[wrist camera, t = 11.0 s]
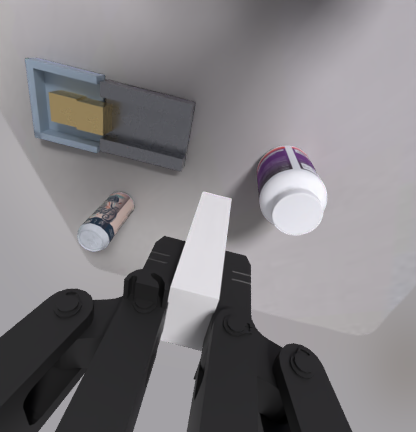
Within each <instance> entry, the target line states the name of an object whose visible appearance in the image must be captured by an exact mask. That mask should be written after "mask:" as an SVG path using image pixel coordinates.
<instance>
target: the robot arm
mask: <svg viewBox="0 0 416 432" xmlns="http://www.w3.org/2000/svg"><path fill="white" fill-rule="evenodd" d="M231 200H232V199H231V198H227V197H223V196H219V195H216V194H212V193H208V192H204V191H203V192H202V195H201V198H200V201H199V204H198V207H197V210H196V213H195V216H194V219H193V222H192V225H191V228H190V231H189V234H188V237H187V240H186V241H182V240H178V239H174V238H170V237H166V236H164V237H162V238H161V239H160V240H158V241H157V242H156V243H155V245H154V247H153V249H152V252H151V253H150V255H149V257H148V259H147V261H146V263H145V265H144V267H143V269H140V270H136V271H134V272H132V273H130V274H129V275H128V276H127V277H126V278H125V279H124V294H123V296H122V297H119V298H116V299H109V300H92V297H91V295H89V294H88V293H87V292H86V291H83V290H80V289H66V290H63V291H59V292H57V293H55V294H54V295H52V296H51V297H49V298H48V299H47V300H45V301H44V302H43V303H42V304H40V305H39V306H38V307H37V308H36V309H34V310H33V311H32V312H31V313H30V314H28V315H27V316H26V317H25V318H23V319H22V320H21V321H20V322H18V323H17V324H16V325H15V326H14V327H13V328H11V329H10V330H9V331H7V332H6V333H5V334H4V335H3V336H1V337H0V432H38V431H39V430H40V429H41V427H42V426H43V425H44V424H45V422H46V421H47V420H48V419H49V417H50V416H51V415H52V414H53V412H54V411H55V410H56V409H57V407H58V406H59V405H60V404H61V402H62V401H63V400H64V398H65V397H66V396H67V395H68V394H69V392H70V391H71V390H72V388H73V387H74V386H75V385H76V383H77V382H78V381H79V380H80V378H81V377H82V376H83V375H84V376H83V378H82V380H81V382H80V384H79V386H78V388H77V390H76V392H75V394H74V396H73V397H72V400H71V402H70V404H69V405H68V407H67V409H66V411H65V413H64V415H63V417H62V419H61V421H60V423H59V425H58V427H57V429H56V431H55V432H133V429H134V426H135V423H136V420H137V417H138V413H139V410H140V407H141V403H142V400H143V397H144V394H145V390H146V387H147V384H148V381H149V377H150V374H151V371H152V368H153V364H154V361H155V358H156V353H157V348H158V345H159V342H160V340H161V341H165V342H168V343H172V344H176V345H180V346H184V347H188V348H192V349H196V350H200V351H201V350H202V354H201V359H200V362H199V365H198V368H197V371H196V373H195V376H194V379H195V380H196V381H195V387H194V392H193V398H192V405H191V410H190V416H189V422H188V428H187V432H352V430H351V428H350V426H349V424H348V421H347V419H346V417H345V415H344V412H343V410H342V408H341V406H340V403H339V401H338V399H337V397H336V394H335V392H334V390H333V388H332V385H331V383H330V381H329V379H328V376H327V374H326V372H325V370H324V367H323V365H322V364H321V362H320V361H319V359H318V357H317V356H316V355H315V354H314V353H313V352H312V351H311V350H309V349H308V348H306V347H304V346H302V345H298V344H294V343H293V344H287V345H286V346H284V347H283V348H282V347H280V346H279V345H277V344H275V343H274V342H272V341H270V340H268V339H267V338H266V337H264V336H263V335H262V334H261V333H260V332H259V331H258V330H257V329H256V328H255V325H254V323H253V321H252V319H251V285H250V284H251V277H250V276H251V265H250V263H249V261H248V259H247V257H246V256H244V255H240V254H236V253H232V252H229V251H225V249H226V241H227V233H228V225H229V217H230V209H231ZM202 347H203V348H202ZM84 373H85V374H84Z"/></svg>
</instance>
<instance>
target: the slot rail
mask: <svg viewBox="0 0 416 432" xmlns="http://www.w3.org/2000/svg"><path fill="white" fill-rule="evenodd" d="M100 97H103V98H106V103H110V104H112V131H111V132H109V133H107V134H106V135H105V136H103V137H102V138H100V151H102V152H106V153H110V154H114V155H118V156H122V157H126V158H130V159H134V160H138V161H142V162H146V163H150V164H153V165H157V166H161V167H165V168H169V169H173V170H177V171H182V169H183V167H184V164H185V159H186V153H187V147H188V142H189V136H190V130H191V125H192V119H193V114H194V108H195V102H194V101H190V100H186V99H182V98H178V97H174V96H170V95H167V94H163V93H159V92H155V91H151V90H147V89H143V88H139V87H135V86H131V85H127V84H123V83H119V82H115V81H112V80H104V81H100Z"/></svg>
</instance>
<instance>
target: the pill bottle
mask: <svg viewBox="0 0 416 432" xmlns="http://www.w3.org/2000/svg"><path fill="white" fill-rule="evenodd" d="M257 180H258V191H259V203H260V208H261V211H262V213H263V215H264V217H265V218H266V219H267V220H268V221H269V222H270V223H271V224H273V225H275V226H276V228H277V229H278V230H280V231H281V232H283V233H285V234H288V235H303V234H306V233H309V232H310V231H312V230H314V229H315V228H316V227H317V226H318V225H319V223H320V222H321V220H322V217H323V211H324V210H325V207H326V204H327V191H326V188H325V185H324V183H323V182H322V180H321V179H320V177H319V175H318V173H317V172H316V170H315V168H314V166H313V165H312V163H311V161H310V160H309V158H308V156H307V155H306V154H305V153H304V152H303V151H302V150H301V149H299V148H297V147H294V146H288V145H284V146H278V147H275V148H273V149H271V150H269V151H268V152H267V153H266V154H265V155H264V156H263V157H262V158H261V160H260V162H259V164H258V168H257Z"/></svg>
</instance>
